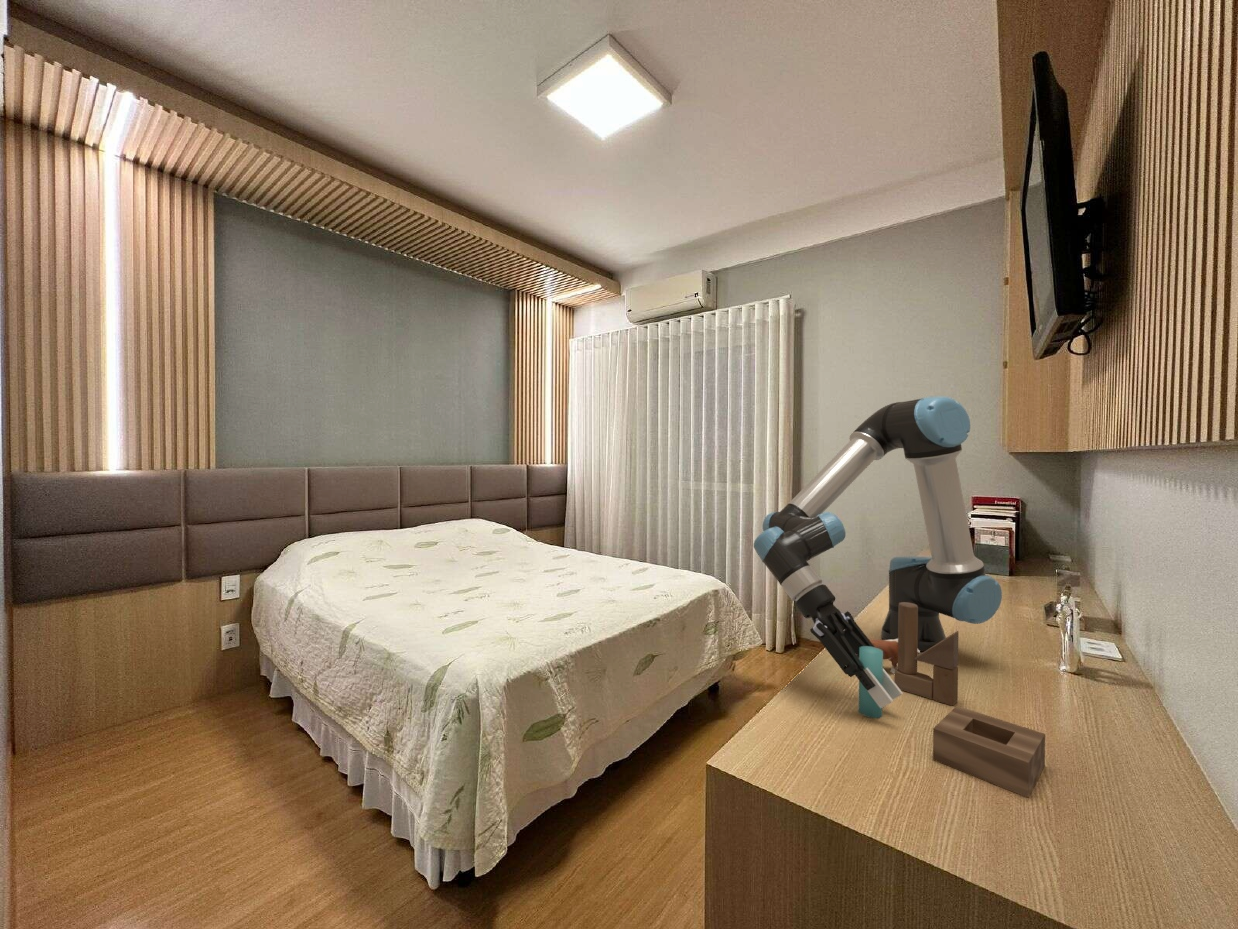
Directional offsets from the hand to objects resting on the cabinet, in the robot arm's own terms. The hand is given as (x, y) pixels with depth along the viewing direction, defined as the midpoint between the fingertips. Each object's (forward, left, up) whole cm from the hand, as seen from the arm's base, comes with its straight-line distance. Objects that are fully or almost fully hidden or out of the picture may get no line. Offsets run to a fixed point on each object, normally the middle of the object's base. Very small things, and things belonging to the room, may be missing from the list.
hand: (891, 700), depth 92 cm
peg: (0, -4, -4) cm, 5 cm away
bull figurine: (-23, -10, -4) cm, 25 cm away
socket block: (+2, +15, -4) cm, 16 cm away
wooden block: (-17, 0, -4) cm, 17 cm away
